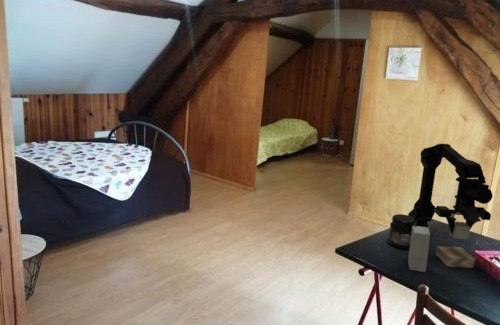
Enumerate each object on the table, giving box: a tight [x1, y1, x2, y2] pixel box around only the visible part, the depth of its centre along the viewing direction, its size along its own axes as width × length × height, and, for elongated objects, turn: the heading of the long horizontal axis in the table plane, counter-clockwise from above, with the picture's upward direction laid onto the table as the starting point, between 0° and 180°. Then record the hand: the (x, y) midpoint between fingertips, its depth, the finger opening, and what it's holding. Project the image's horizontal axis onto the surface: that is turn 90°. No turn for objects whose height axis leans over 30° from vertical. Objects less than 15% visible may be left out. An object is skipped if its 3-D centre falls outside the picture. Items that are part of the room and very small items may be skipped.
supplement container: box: [387, 213, 417, 250], centre depth 168 cm, size 10×10×12 cm
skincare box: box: [407, 226, 431, 273], centre depth 149 cm, size 8×6×15 cm
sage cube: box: [448, 221, 471, 240], centre depth 154 cm, size 5×5×5 cm
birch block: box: [435, 245, 476, 269], centre depth 156 cm, size 10×10×4 cm
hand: (458, 233), depth 155 cm, fingers closed on sage cube, 5 cm apart
